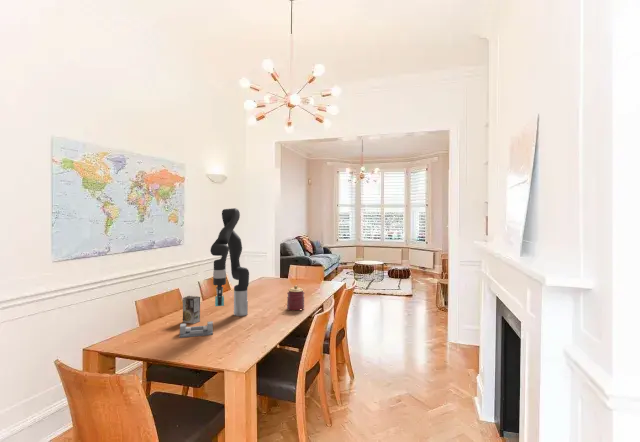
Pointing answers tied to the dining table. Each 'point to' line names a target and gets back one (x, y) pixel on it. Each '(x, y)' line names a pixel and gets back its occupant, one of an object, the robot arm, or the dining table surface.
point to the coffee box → (191, 309)
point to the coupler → (217, 300)
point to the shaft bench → (196, 330)
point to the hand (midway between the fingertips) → (219, 304)
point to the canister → (295, 298)
